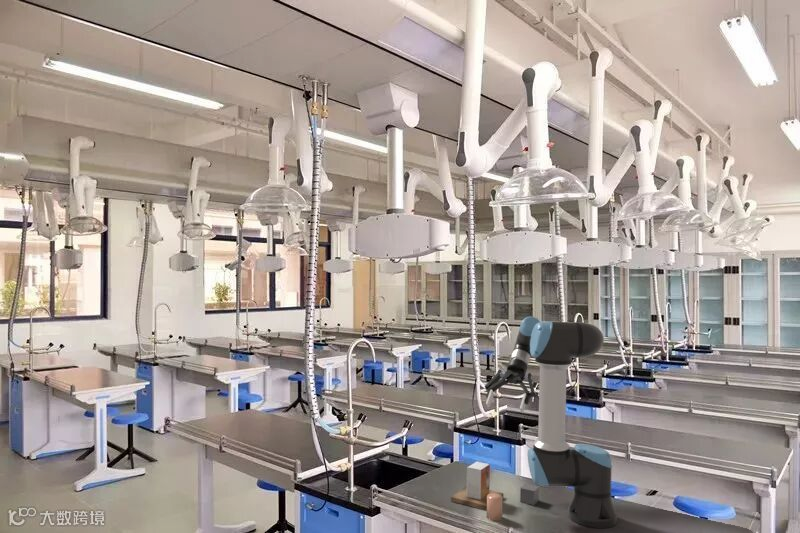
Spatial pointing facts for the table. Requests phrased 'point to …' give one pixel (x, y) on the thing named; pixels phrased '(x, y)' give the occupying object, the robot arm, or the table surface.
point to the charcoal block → (529, 494)
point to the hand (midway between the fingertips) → (504, 408)
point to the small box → (478, 480)
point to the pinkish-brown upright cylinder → (494, 507)
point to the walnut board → (471, 499)
